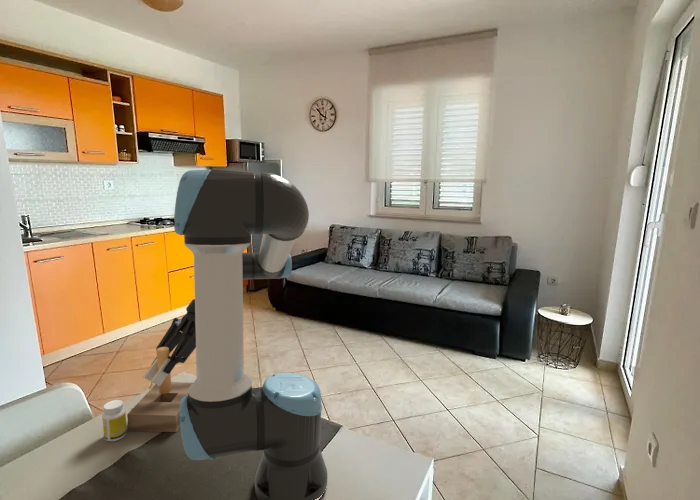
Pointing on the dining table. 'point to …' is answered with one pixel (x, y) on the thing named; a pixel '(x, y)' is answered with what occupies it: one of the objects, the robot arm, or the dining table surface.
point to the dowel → (161, 357)
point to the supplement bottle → (114, 421)
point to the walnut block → (158, 410)
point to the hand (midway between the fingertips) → (151, 381)
